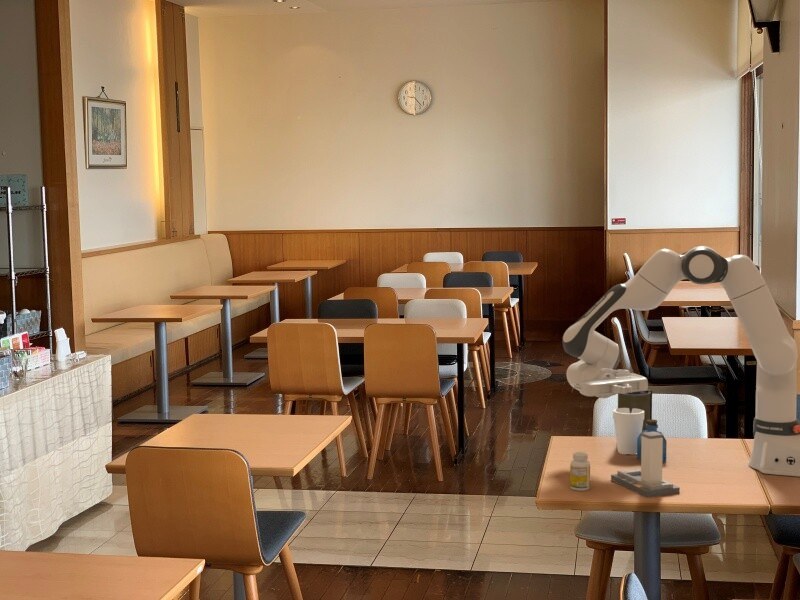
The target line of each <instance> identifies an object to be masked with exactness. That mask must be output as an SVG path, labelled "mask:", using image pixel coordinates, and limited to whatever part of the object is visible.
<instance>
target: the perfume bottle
mask: <svg viewBox="0 0 800 600" xmlns="http://www.w3.org/2000/svg"><path fill="white" fill-rule="evenodd" d="M646 428H647V430H644V431H642V432H641V433H644V432H653V431H655V432H657V433H660V434H663V433H662V432H661V431H659V430H658V428H659V424H658V420H657V419H653V418H652V419H649V420H647V424H646ZM667 444H668V443H667V439H666V438H665V436H664V435H663V456H662V461H664V462H667V448H668V447H667ZM638 458H639V459H638ZM636 459H638V460H640V459H641V434H640V435H639V436H638V438H637V454H636Z"/></svg>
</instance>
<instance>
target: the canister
mask: <svg viewBox="0 0 800 600" xmlns="http://www.w3.org/2000/svg"><path fill="white" fill-rule="evenodd" d="M617 408H629V410H630V414H631V412H632V409H633V408H635V409H642V410H644V420H643V427H642V431H644V430H647V428H646V424H647V420H649V419H653V390H651V389H649V388H647V390H646V391H638V392H632V393H625V394H622V393H619V394H617Z"/></svg>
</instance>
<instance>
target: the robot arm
mask: <svg viewBox="0 0 800 600" xmlns="http://www.w3.org/2000/svg"><path fill="white" fill-rule="evenodd" d="M683 280H689V281H690V282H691V283H693V284H697V285H709V284H716V283H717V284H718V283H719V284H720V285H721V286H722V288H723V289H724V291H725V292H726V295H727V297H728V300H729V302H730V304H731V306H732V307H733V310H734V312H735V314H736V316H737V318H738V321H739V322H740V325H741V326H742V329H743V331H744V334H745V336H746V339H747V341H748V344H749V346H750V348H751V351H752V353H753V355H754V357H755V359H756V379H755V380H756V381H755V382H756V383H755V384H756V385H755V388H756V389H755V417H754V418H753V425H752V427H753V428H752V429H753V430H752V433H753V437H754V438H753V445H752V451H751V455H750V458H749V461H748V466H749V467H751V468H753V469H755V470H757V471H759V472H760V473H762V474H765V475H766V474H769V475H777V476H778V475H779V476H792V477H798V478H799V477H800V420H798V419H797V387H798V385H797V383H798V382H797V379H798V378H797V376H798V375H797V373H798V368H797V367H798V360H799V359H798V358H799V357H798V356H799V355H798V354H799V353H798V347H797V343H796V341H795V339H794V338H793V336H791V334H790V332H789V330H788V328H787V326H786V323H785V321H784V319H783V317H782V315H781V312H780V309H779V308H778V306H777V303H776V301H775V299H774V298H773V296H772V293H771V291H770V288H769V286H768V285H767V283H766V281H765V278H764V276H763V275H762V274H761V272H760V270H759V269H758V267H757V265H756V264H755V263H754V262H753V260H752V259H751V258H750V257H749V256H748V255H746V254H736V255H735V254H734V255H731V256H729V257H723V256H721V254H719V252H717V250H715V249H714V248H712V247H710V246H706V245H699V246H695V247H693V248H691V249H690V250H688V251H685V252H683V253H681V254H680V253H678V252H676V251H675V250H673V249H669V248H661V249H658V250H657V251H655V253H654V254H652V255H651V257H649V258H648V260H647V261H645V262H644V264H643V265H642V266H641V267H640V269H639V270H638V271H637V272H636V274H635V275H633V277H632V278H631V279H629V280H627V281H626V282H624V283H618V284H616V285H613V286H612V287H611V288H610V289H609V290H608V291H607V292H606V293H605V294H604V295H602V297H600V298H599V300H598V301H596V302H595V303H594V304H593V306H591V308H589V309H588V311H587V312H585V313H584V314H583V315H582V316H581V317H580V318H579V319H577V320H576V321H575V322H574V323H572V324H571V325H570V326H569V327H568V328H567V329H565V331H564V333H563V335H562V340H561V343H562V348H563V349H564V352H565V353H566V354H567V355H570V356H572V357H574V358H577V359H579V360H578V361H576V362H574V363H571V364H570V365H569V366H568V368H567V369H566V374H565V375H566V380H567V382H568V384H569V386H571V387H572V388H573V389H575V390H577V391H579V393H580V394H581V395H583V396H585V397H597V398H599V399H608V398H610V397H613V396H616V395H618V394H619V393H622V394H625V393H632V392H638V391H646V390H647V389H649V388H648V387H649V381H648V378H647V377H645V376H643V375H640V374H637V373H634V372H631V371H630V370H628V369H617V368H618V366H619V363H620V361H621V350H620V346H619V344H618V343H616V342H615V341H613V340H611V339H610V338H608V337H606V336H604V335H603V334H601V333H599V332H598V331H596V328H597V327H599V325H601V323H603V321H605V319H607V318H608V316H609V315H610V314H611V313H613V312H614V311H618V310H622V309H624V310H625V309H627V310H628V309H629V310H636V311H650V310H655V309H657V308H658V307H659V306H660V305H661V304H662V303H663V302H664V301H665V300H666V298H667V297H668V295H669V294H670V293H671V292H672V290H673V289H674V288H675V286H676V285H677V284H678V283H679V282H681V281H683Z"/></svg>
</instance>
